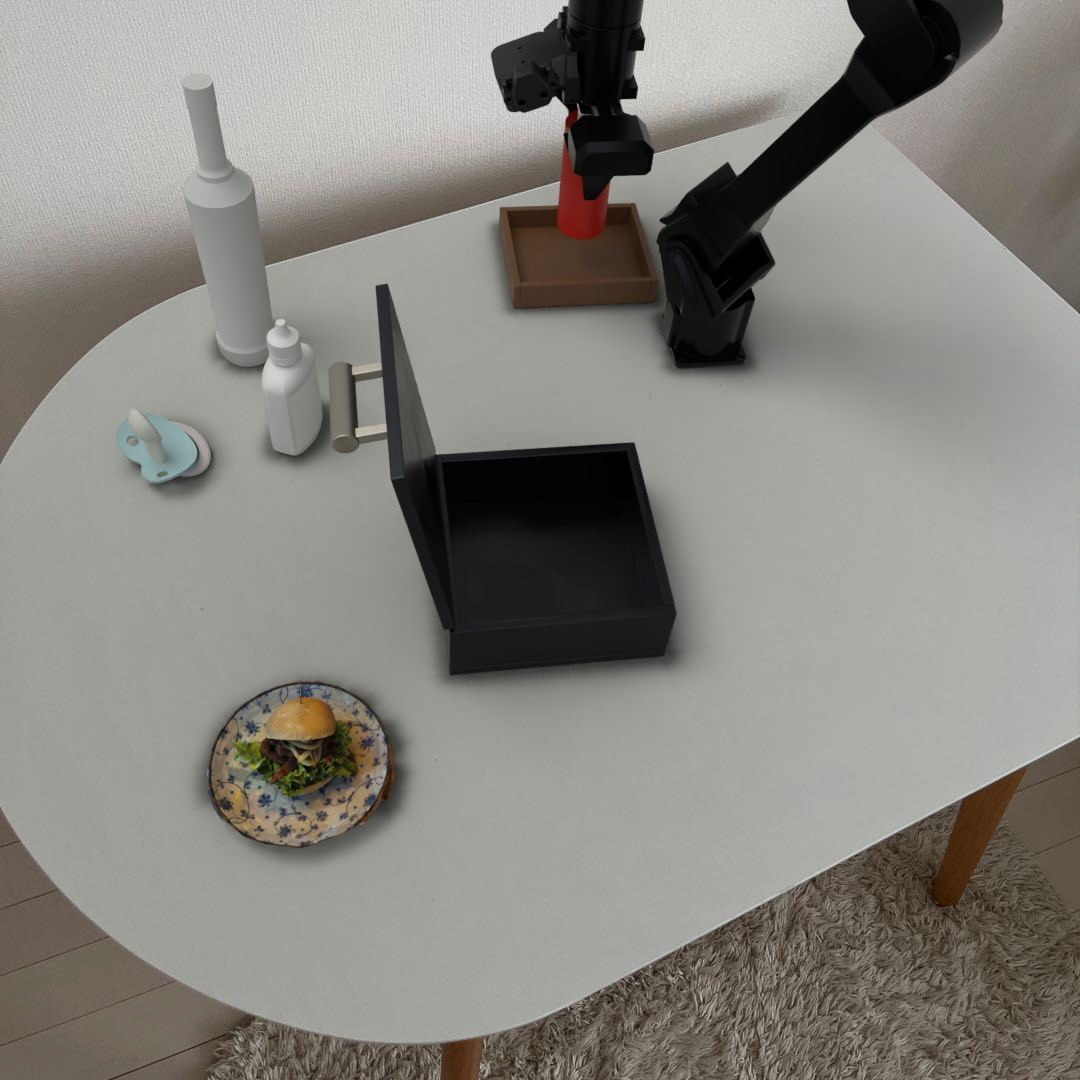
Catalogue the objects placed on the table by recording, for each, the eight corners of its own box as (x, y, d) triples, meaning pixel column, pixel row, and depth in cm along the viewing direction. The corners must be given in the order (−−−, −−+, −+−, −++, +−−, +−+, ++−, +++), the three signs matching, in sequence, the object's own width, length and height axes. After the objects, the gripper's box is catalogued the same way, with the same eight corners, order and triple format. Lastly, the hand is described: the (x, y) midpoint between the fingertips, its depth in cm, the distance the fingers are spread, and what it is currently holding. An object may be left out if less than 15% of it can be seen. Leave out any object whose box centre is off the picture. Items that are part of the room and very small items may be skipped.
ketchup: (600, 207, 103) (614, 90, 93) (608, 238, 101) (624, 121, 91) (553, 209, 102) (562, 91, 93) (560, 240, 100) (571, 123, 90)
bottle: (268, 374, 94) (219, 109, 74) (209, 362, 95) (145, 95, 75) (288, 333, 97) (247, 67, 77) (231, 321, 98) (175, 54, 78)
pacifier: (178, 415, 91) (112, 448, 88) (165, 359, 86) (94, 393, 84) (229, 468, 88) (161, 504, 86) (218, 414, 83) (146, 450, 81)
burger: (174, 810, 71) (149, 760, 65) (274, 666, 78) (259, 609, 72) (338, 890, 69) (327, 846, 63) (426, 734, 76) (424, 681, 70)
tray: (631, 224, 109) (635, 202, 107) (654, 302, 103) (658, 280, 101) (498, 229, 108) (499, 206, 106) (513, 308, 101) (514, 286, 99)
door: (387, 282, 69) (318, 295, 69) (404, 477, 60) (324, 491, 60) (435, 449, 83) (377, 459, 83) (455, 628, 74) (390, 640, 74)
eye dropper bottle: (342, 429, 91) (329, 320, 82) (287, 464, 89) (267, 356, 79) (308, 400, 93) (292, 289, 83) (253, 433, 90) (230, 324, 81)
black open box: (625, 488, 90) (634, 441, 85) (664, 656, 81) (677, 613, 76) (431, 502, 88) (430, 454, 83) (449, 675, 79) (449, 633, 74)
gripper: (487, -51, 90) (482, 122, 102) (516, 80, 79) (507, 255, 91) (622, -52, 91) (601, 119, 104) (669, 77, 80) (639, 250, 93)
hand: (585, 182), depth 98 cm, fingers closed on ketchup, 4 cm apart
